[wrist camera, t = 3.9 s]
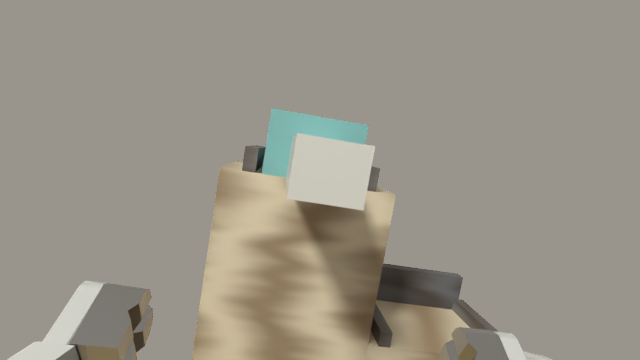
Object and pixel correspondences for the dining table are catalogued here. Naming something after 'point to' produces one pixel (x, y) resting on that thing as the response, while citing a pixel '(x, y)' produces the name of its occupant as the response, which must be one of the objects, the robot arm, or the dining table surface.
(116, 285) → the robot arm
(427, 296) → the zigzag stepped block
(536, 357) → the plastic cup
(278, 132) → the plug
